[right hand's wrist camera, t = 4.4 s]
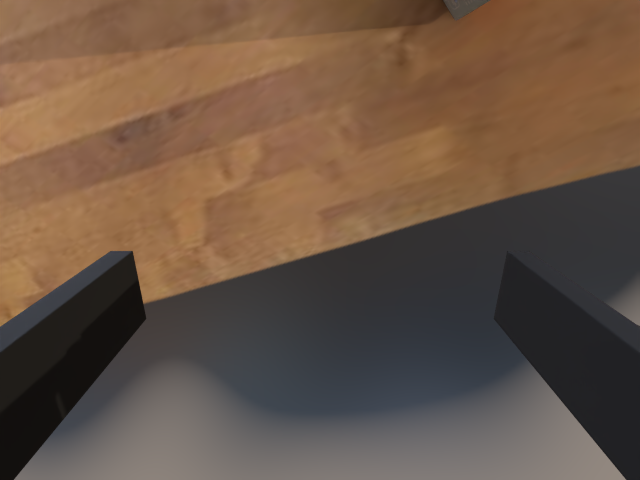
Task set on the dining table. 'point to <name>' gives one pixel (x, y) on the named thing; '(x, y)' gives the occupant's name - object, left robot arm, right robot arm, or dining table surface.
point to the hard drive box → (463, 7)
